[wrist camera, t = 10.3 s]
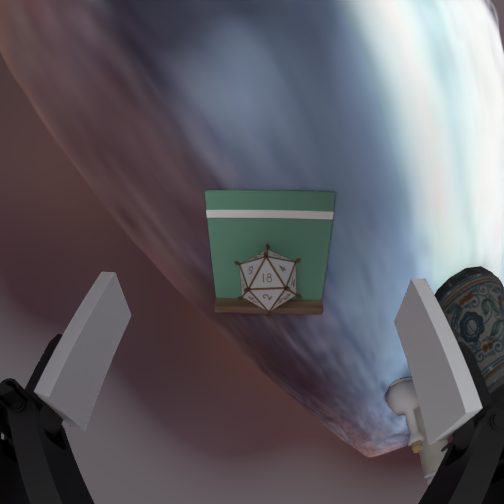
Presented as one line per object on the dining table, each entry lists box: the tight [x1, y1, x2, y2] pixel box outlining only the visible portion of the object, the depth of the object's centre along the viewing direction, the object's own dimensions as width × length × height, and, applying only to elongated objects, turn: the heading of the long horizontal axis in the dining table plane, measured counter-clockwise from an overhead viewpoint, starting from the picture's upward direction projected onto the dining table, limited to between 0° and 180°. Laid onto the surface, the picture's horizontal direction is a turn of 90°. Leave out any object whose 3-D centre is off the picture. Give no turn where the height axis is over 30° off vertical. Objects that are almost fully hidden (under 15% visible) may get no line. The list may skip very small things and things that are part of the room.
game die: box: [234, 243, 302, 319], centre depth 38 cm, size 9×8×10 cm
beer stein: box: [434, 266, 504, 411], centre depth 34 cm, size 16×19×25 cm
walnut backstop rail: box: [214, 298, 323, 314], centre depth 44 cm, size 1×16×2 cm, turn 91°
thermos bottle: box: [414, 406, 448, 485], centre depth 52 cm, size 8×8×28 cm
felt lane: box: [205, 190, 335, 300], centre depth 40 cm, size 17×16×1 cm
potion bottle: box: [386, 377, 424, 453], centre depth 50 cm, size 9×9×18 cm
